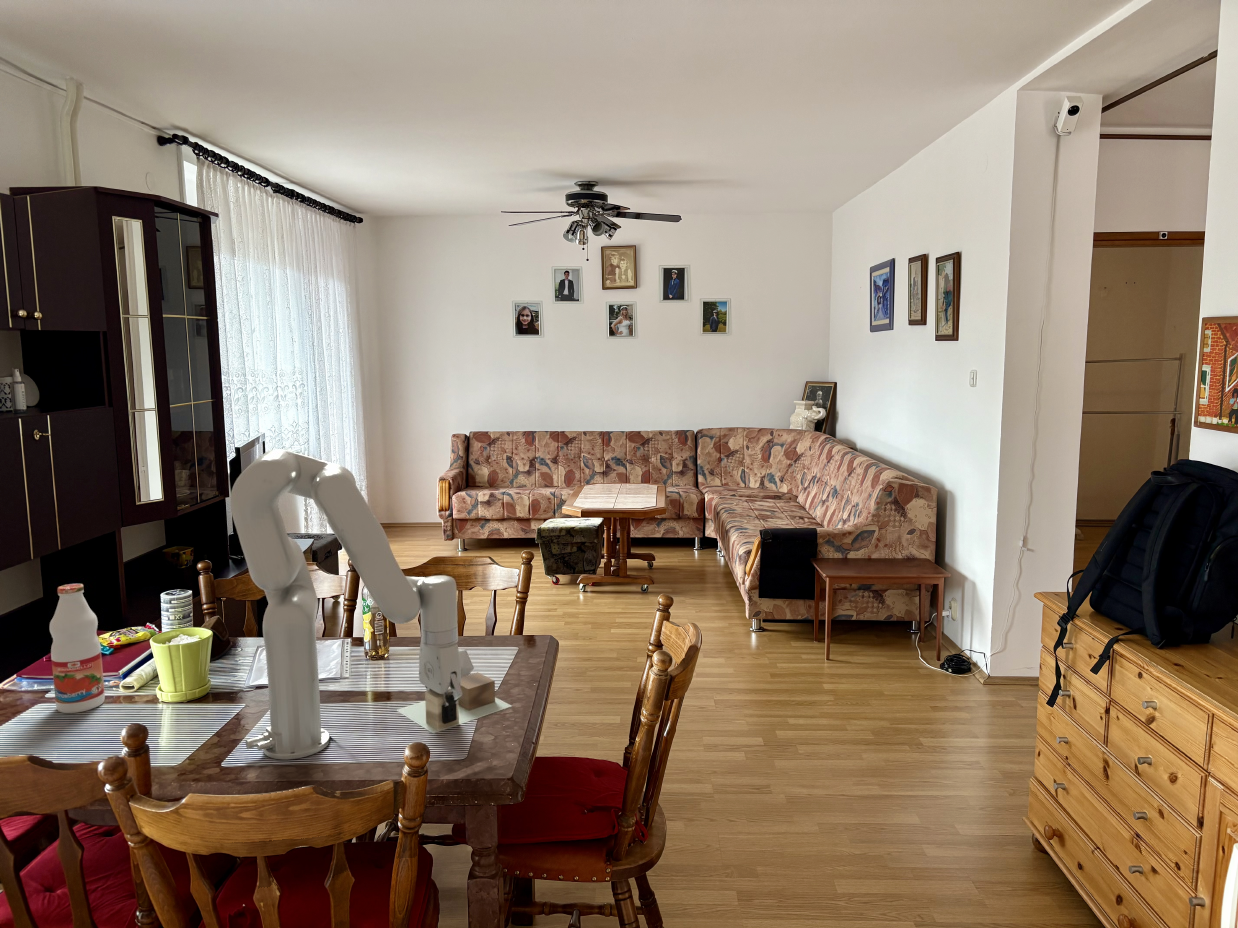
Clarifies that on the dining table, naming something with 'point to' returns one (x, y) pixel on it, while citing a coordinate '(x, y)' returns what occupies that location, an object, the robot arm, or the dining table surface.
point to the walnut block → (476, 691)
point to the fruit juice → (76, 653)
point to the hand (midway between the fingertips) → (442, 716)
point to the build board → (419, 713)
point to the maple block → (437, 710)
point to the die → (465, 663)
